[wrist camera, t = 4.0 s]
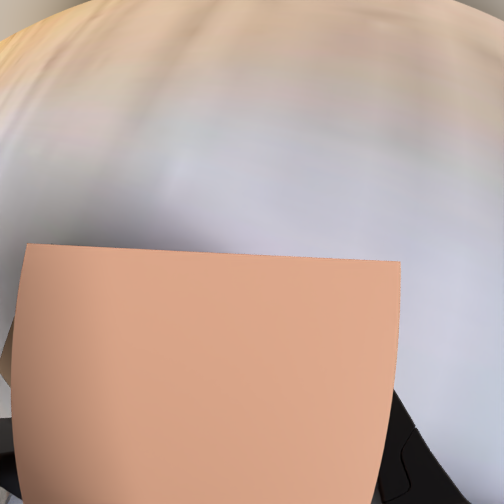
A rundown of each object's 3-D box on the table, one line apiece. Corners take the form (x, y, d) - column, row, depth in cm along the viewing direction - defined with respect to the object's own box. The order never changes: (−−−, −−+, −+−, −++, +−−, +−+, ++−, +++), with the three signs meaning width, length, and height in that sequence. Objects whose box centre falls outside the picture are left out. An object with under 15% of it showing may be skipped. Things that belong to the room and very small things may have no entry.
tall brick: (322, 415, 15) (324, 621, 2) (229, 404, 16) (27, 521, 3) (331, 323, 16) (400, 262, 3) (238, 316, 17) (27, 243, 4)
